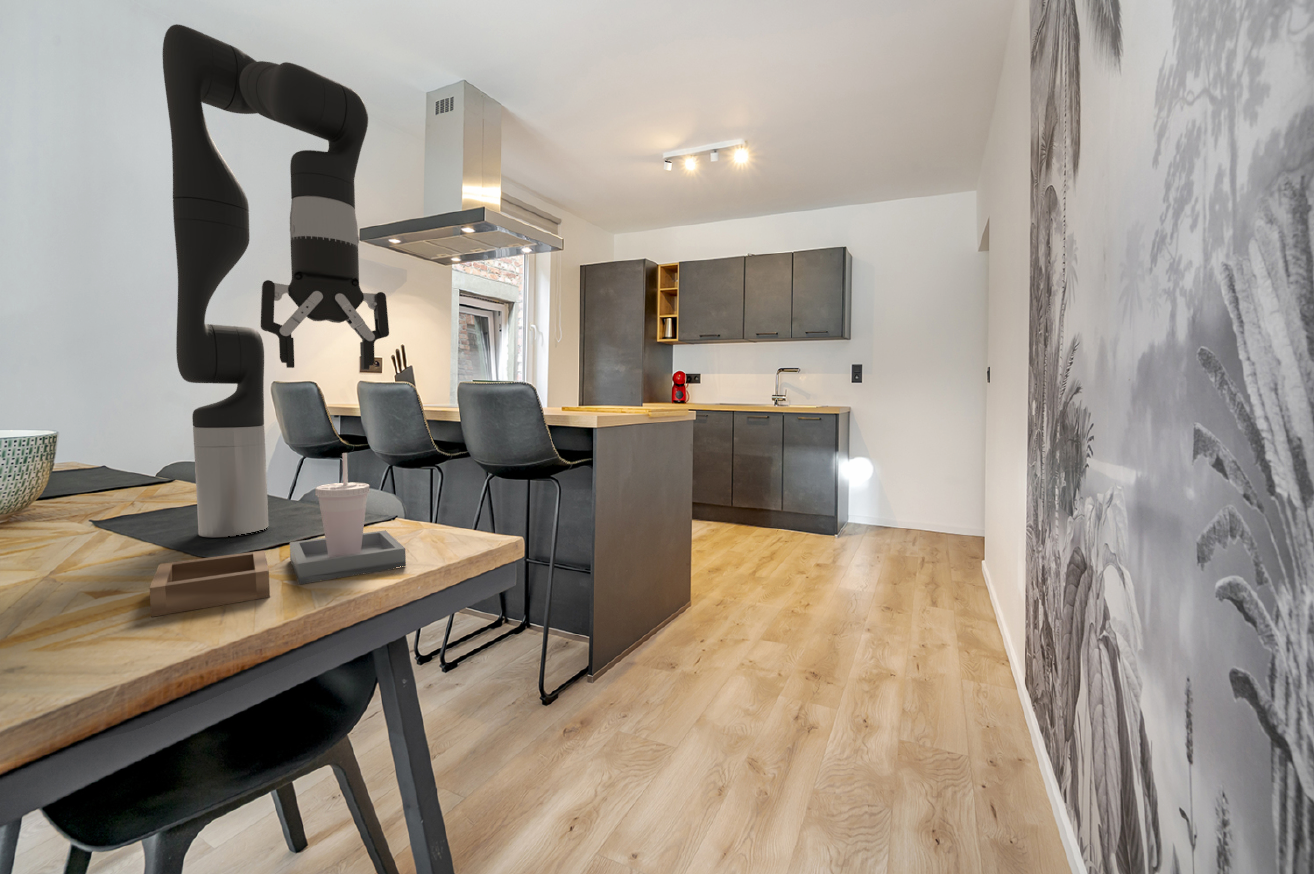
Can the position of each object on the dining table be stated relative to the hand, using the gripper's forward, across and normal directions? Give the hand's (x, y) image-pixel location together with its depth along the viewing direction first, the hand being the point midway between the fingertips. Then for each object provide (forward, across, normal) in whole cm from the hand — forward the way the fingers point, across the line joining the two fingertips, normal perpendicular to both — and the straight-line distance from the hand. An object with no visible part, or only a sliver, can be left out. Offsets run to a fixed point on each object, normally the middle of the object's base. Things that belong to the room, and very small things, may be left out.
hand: (328, 368), depth 74 cm
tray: (+26, -1, +1) cm, 26 cm away
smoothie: (+25, -1, +1) cm, 25 cm away
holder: (+26, +13, +5) cm, 29 cm away
